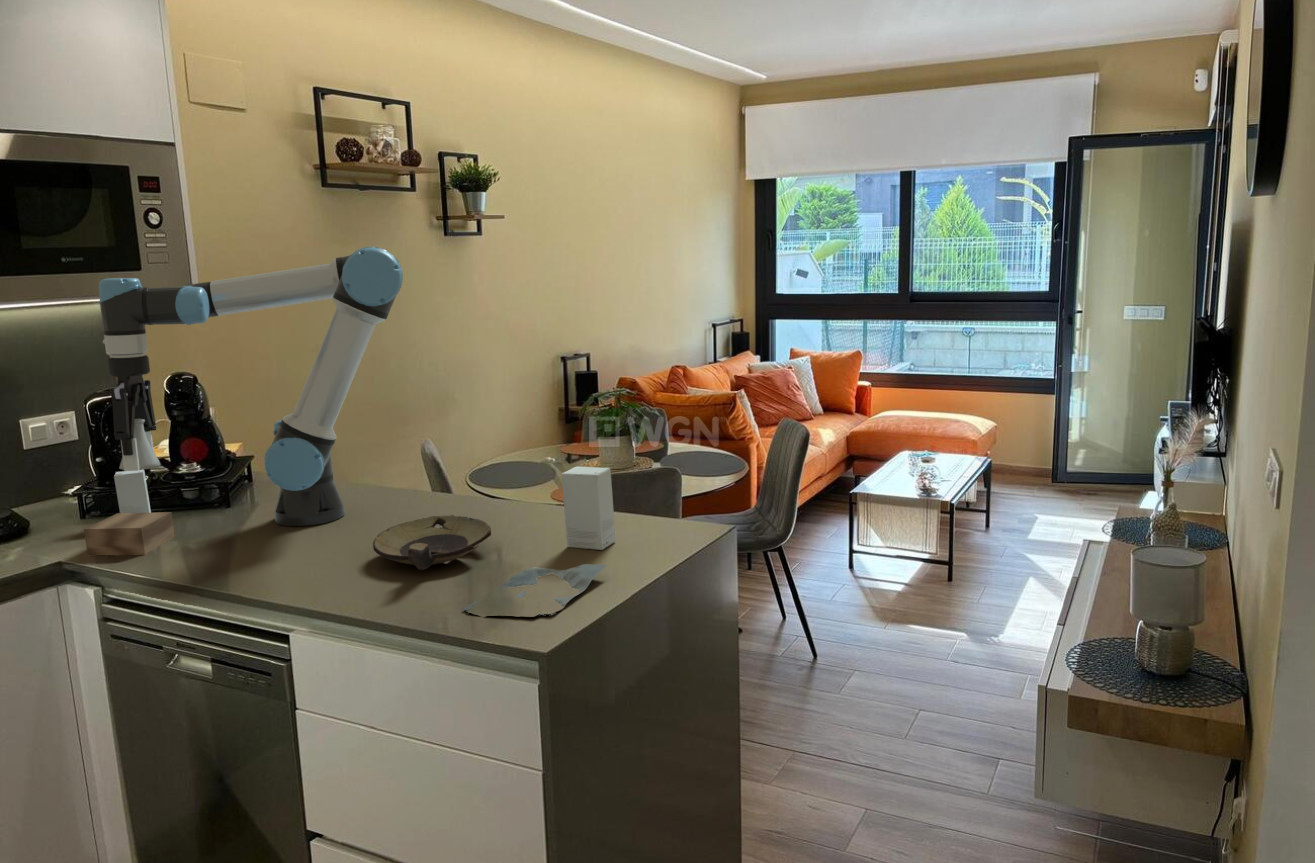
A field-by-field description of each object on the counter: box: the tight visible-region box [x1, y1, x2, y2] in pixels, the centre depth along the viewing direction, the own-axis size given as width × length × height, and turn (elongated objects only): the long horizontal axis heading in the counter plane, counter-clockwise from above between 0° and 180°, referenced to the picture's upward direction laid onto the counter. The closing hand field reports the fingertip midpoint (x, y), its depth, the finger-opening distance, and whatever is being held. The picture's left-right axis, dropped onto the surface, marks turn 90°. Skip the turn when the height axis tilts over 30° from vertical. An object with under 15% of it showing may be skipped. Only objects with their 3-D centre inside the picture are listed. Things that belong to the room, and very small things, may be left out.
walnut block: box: [83, 511, 176, 556], centre depth 208 cm, size 12×12×6 cm
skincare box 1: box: [113, 469, 152, 513], centre depth 226 cm, size 6×4×12 cm
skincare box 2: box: [561, 465, 617, 551], centre depth 198 cm, size 8×7×16 cm
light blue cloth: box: [462, 563, 608, 616], centre depth 172 cm, size 24×16×2 cm, turn 157°
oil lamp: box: [372, 514, 492, 571], centre depth 191 cm, size 22×30×8 cm
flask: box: [118, 419, 162, 471], centre depth 203 cm, size 7×7×10 cm
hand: (139, 466), depth 203 cm, fingers closed on flask, 7 cm apart
